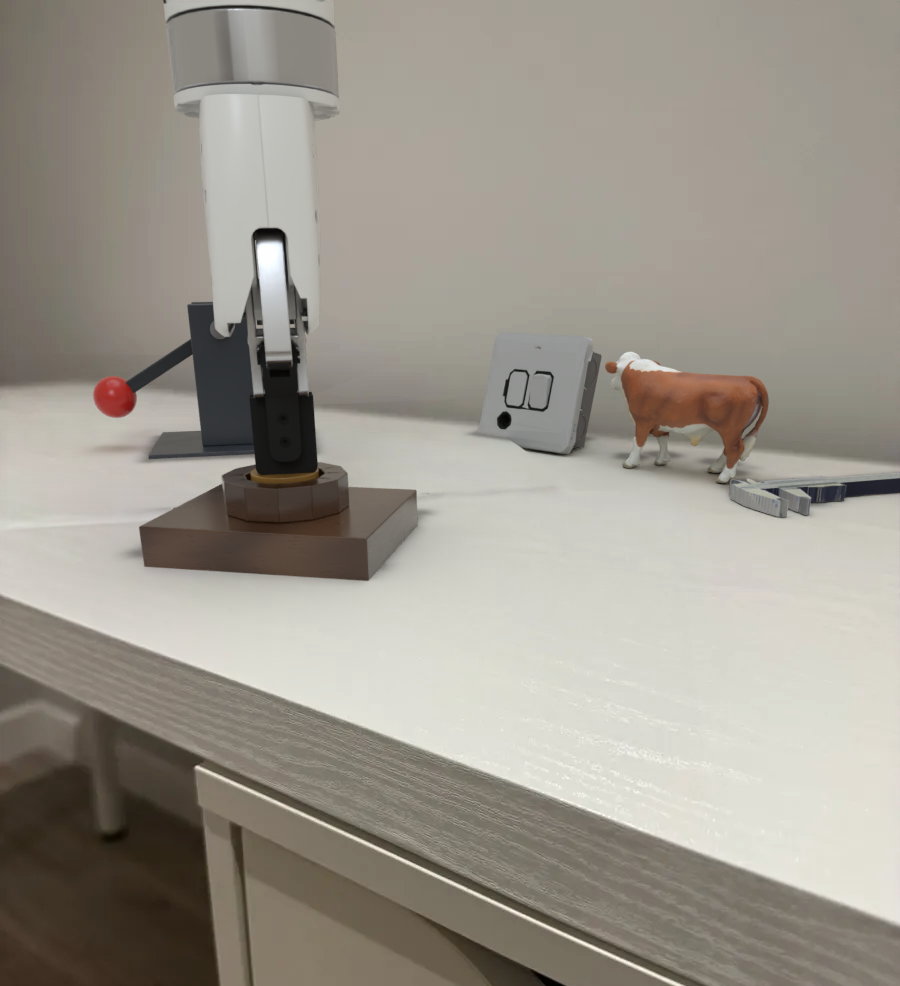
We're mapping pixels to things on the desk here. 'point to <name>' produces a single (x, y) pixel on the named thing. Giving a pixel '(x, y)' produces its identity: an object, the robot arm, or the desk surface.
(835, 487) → the caliper
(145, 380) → the lever
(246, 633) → the desk surface
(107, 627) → the desk surface
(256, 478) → the button
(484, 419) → the electrical switch
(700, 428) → the bull figurine
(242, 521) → the block
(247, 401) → the switch bracket
